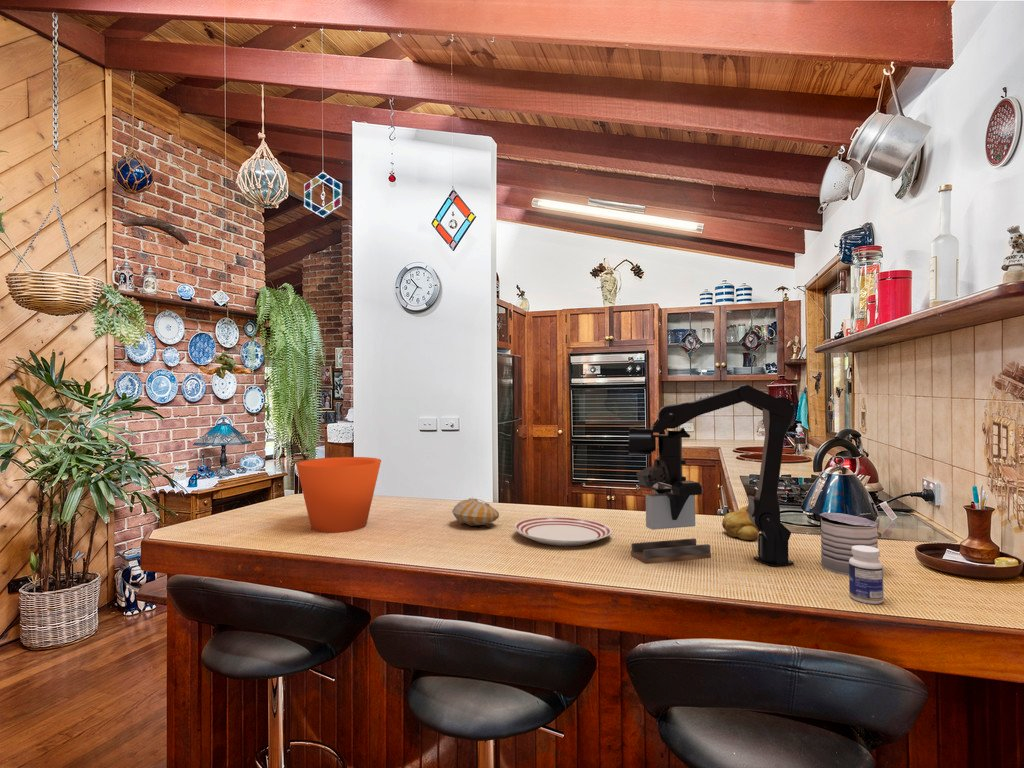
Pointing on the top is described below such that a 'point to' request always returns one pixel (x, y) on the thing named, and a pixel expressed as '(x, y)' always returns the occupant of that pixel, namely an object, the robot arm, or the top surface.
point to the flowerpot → (338, 491)
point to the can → (844, 539)
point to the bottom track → (670, 551)
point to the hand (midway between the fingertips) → (670, 518)
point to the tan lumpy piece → (740, 524)
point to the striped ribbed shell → (475, 512)
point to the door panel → (668, 512)
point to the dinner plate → (562, 530)
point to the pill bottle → (866, 575)
